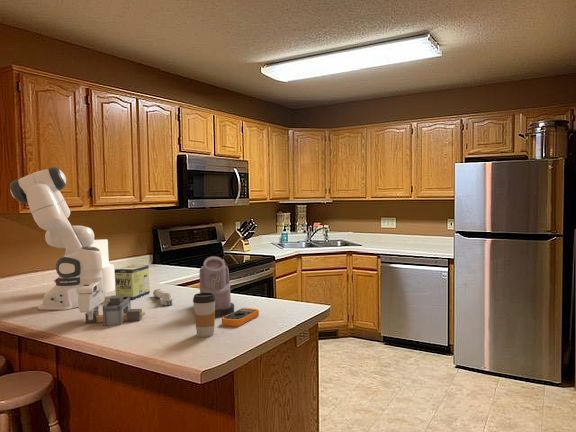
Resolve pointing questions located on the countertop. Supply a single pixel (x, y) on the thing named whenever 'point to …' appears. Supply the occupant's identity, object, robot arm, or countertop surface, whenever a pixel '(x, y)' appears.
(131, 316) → the wooden and grey bar
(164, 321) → the countertop surface
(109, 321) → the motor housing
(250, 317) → the multimeter
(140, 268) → the protein box
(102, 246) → the cylinder
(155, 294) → the toothbrush head
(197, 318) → the coffee cup
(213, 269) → the juicer
